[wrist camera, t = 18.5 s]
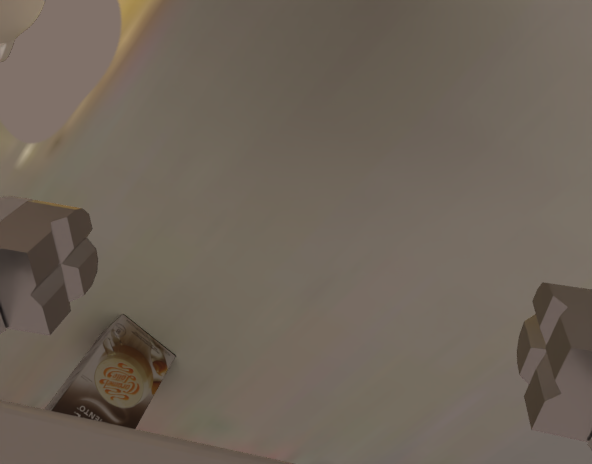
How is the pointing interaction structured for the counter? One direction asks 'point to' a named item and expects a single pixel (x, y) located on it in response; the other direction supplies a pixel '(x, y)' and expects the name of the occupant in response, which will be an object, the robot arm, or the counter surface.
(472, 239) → the counter surface
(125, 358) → the coffee box
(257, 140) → the counter surface
